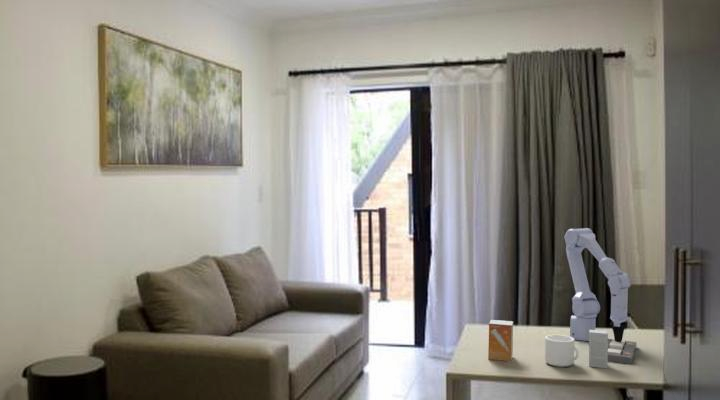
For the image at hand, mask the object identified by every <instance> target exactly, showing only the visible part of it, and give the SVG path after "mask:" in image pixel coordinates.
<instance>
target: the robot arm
mask: <svg viewBox="0 0 720 400" xmlns="http://www.w3.org/2000/svg"><path fill="white" fill-rule="evenodd" d="M563 238H564V241H565V242H564V243H565V245H566V246H565V252H566V257H567V261H568V262H567V263H568V264H569V269H570V270H569V271H570V275H571V277H572V278H571V279H572V282H573V288H574V290H575V295H573V297H572V298H571V301H572V302H571V303H572V306H571V307H572V308H571V309H572V313H573V314H574V315H573V314H572V315H571V316H570V323H569V325H570V327H569V336H570V337H572V338H574V341H575V340H576V341H577V340H579V341H582V342H584V341H585V342H589V330H596V319H597V317H598V314H599V313H600V311H601V305H600V302H599V301H598V299H597V297H596V296H597V295H595V294H594V293H593V292H592V291H591V290H590V285H589V280H588V278H587V273H586V269H585V268H586V267H585V263H584V260H583V255H582V252H583V250H584V249H587V250H588V251H589V252H590V253H591V255H593V257H594V258H595V259H596V260H597V262H598V268H599V269H600V270H601V272H602V273H603V274H604V276H605V278H606V279H607V285H608V287H609V291H610V297H611V298H610V316H609V319H610V320H611V321H610V323H609V324H610V327H611V329H612V332H613V339H615V341H616V342H621V341H622V340H623V337H624V333H625V332H624V331H625V329H626V327H627V325H628V322H630V321H631V319H632V318H630V317H628V303H629V302H628V298H629V297H628V296H629V295H628V294H629V293H628V291H629V289H630V287H631V286H632V279H631V276H630V275H629V274H628V273H626V272H624V271H622V269H621V268H620V267H619V266H618V265H617V263H616V261H615V260H614V259H613V258H612V257H607V255H606V254H605V252H604V251H603V249H602V248H601V246H600V244H599V243H598V242H597V240H596V234H595V233H593V230H592V229H591V228H589V227H585V228H584V227H583V228H569V229H568V230H567V231H566V232H565V235H564V237H563ZM627 321H628V322H627Z"/></svg>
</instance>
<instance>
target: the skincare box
mask: <svg viewBox="0 0 720 400" xmlns="http://www.w3.org/2000/svg"><path fill="white" fill-rule="evenodd" d="M608 339H609V334H608V331H607V330H598V329H595V330H589V341H588V342H589V343H588V350H589V351H588V367H590V368H603V369H608V366H609V365H608V364H609V363H608V362H609V361H608Z"/></svg>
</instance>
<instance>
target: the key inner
mask: <svg viewBox="0 0 720 400" xmlns="http://www.w3.org/2000/svg"><path fill="white" fill-rule="evenodd" d="M612 339H613V340H612V342H615V343H623V345H625V341H626V340H623V339H622V341H621V342H616V341H615V338H612Z"/></svg>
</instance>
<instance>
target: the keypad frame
mask: <svg viewBox="0 0 720 400" xmlns="http://www.w3.org/2000/svg"><path fill="white" fill-rule="evenodd" d="M613 339H614V338H608V348H609V344H610V342H612V340H613ZM624 341H625V345H623V350H621V355H616V354H608V362H614V363H621V364H628V365H632V362H633V359H634V356H635V353H636V350H637V341H631V340H630V341H629V340H624Z"/></svg>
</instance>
